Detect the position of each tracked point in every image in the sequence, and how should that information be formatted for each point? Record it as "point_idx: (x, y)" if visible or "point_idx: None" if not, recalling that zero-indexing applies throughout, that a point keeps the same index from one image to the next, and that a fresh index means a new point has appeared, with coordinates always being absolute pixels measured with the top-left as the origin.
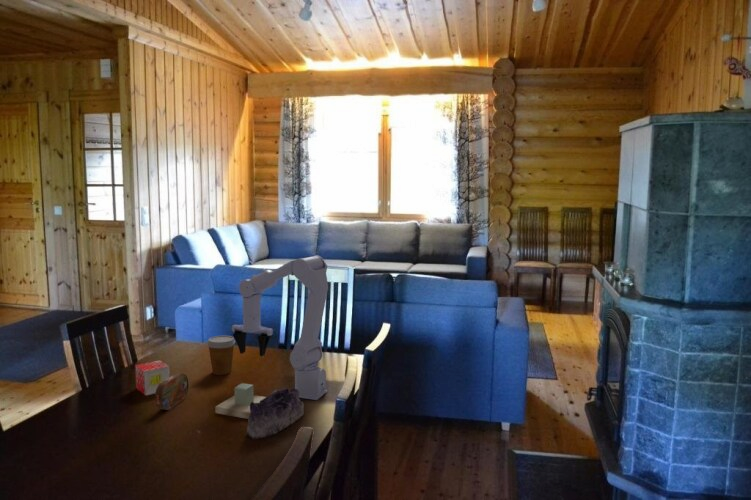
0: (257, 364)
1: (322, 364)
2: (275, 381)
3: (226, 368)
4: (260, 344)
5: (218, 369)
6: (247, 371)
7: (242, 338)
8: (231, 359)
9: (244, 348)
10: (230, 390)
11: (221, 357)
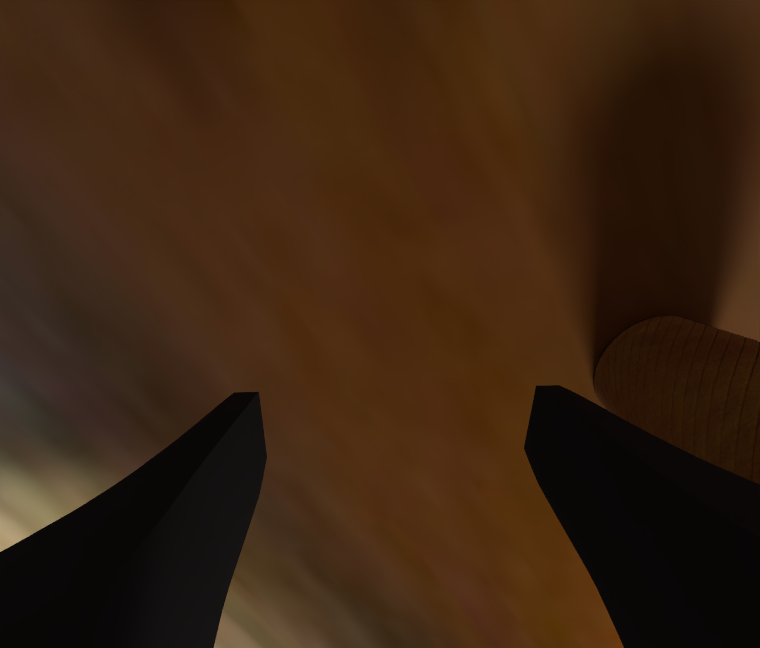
0: (494, 528)
1: None
2: (235, 351)
3: (631, 362)
4: (129, 514)
5: (683, 328)
6: (499, 429)
7: (686, 617)
8: None
9: (549, 475)
10: (437, 59)
11: (744, 378)
